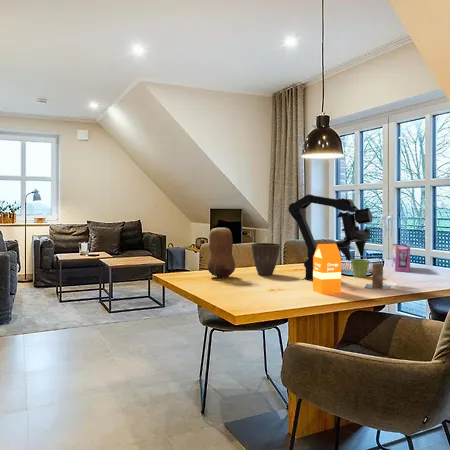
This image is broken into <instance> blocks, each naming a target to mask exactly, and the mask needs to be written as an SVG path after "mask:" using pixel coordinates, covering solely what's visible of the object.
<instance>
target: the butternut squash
mask: <svg viewBox="0 0 450 450" xmlns="http://www.w3.org/2000/svg"><path fill="white" fill-rule="evenodd" d="M208 242H209V243H208V248H209V251H210V252H209V255H208V256H209V257H208V260H207V270H208V272H209V273H210V274H211V275H212V276H213V277H214V276H215V277H216V276H217V277H216V278H219V277H222V278H221V279H224V277H227V278H228V277H230V276H231V275H232V274H233V273H234V272H235V270H236V262H235V259H234V256H233V246H234V245H233V244H234V241H233V234H232V231H231V230H230V228H228V227H215V228H212V229H211V230H210V231H209V237H208Z"/></svg>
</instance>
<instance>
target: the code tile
mask: <svg viewBox="0 0 450 450" xmlns="http://www.w3.org/2000/svg"><path fill="white" fill-rule="evenodd" d="M383 285H390V287H397V282H385V281H383Z"/></svg>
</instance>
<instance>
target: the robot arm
mask: <svg viewBox="0 0 450 450" xmlns="http://www.w3.org/2000/svg"><path fill="white" fill-rule="evenodd" d="M312 204H316V205H322V206H328V207H332V208H334V209H337V210H339V211H340V212H339V213H338V215H337V216H336V218H338V219H339V218H341V221H342V226H343V228H342V229H341V231H342V232H344V237H343V239H340V240H336V241H334V244H337V247H338V250H339V252H341V253H342V254H343V256H344V257H345V258H346V260H347V261H348V262H351V261H350V260H352V259H351V251H350V250H351V247H352V245H351V243H354V244H355V245H356V248H357V250H358V254H359V255H360V256H361V257H363V256H364V251H365V247H366V244H367V242H368V241H369V240H371V237H370V236H372V235H371V229H370V228H367V227H366V228H364V229H360V227H359V226H358V225H363V224H364V225H365V224H369V223H370V224H371V223H372V222H373V214H372V212H371V210H370V207H365V208H362V209H361V208H360V209H359V208H358V207H357V206H356V205H355V202H354V201H353V200H352V199H350V198H331V197H325V196H318V195H314V194H310V193H308V194H306V195H304V196H303V197H300V198H299V199H298V200H296V201H295V202H292V203H290V204H289V206H288V212H289V214H290V215H291V218H293V219H294V221H296V224H297V226H298V229H299V231H300V234H301V237H302V238H303V241H304V243H305V245H306V249H307V252H306V253H307V259H306V260H305V262H303V266H304V268H305V277H303V280H308V281H312V282H313V256H314V254H315V251H316V248H317V246H318V244H317V243H316V241H315V238H314V236H313V234H312V231H311V229H310V226H309V224H308V221H307V219H306V209H307V208H308V207H309V206H310V205H312ZM357 223H358V225H357Z"/></svg>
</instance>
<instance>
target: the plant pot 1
mask: <svg viewBox="0 0 450 450" xmlns="http://www.w3.org/2000/svg"><path fill="white" fill-rule="evenodd" d="M280 248H281V244H280V243H274V242H273V243H272V242H271V243H269V242H267V243H266V242H256V243H255V242H253V243H251V250H252V251H251V253H252V258H253V262H254V266H255V269H256V272H257V275H258V276H267V277H268V276H273V273H274V272H275V270H276V269H275V268H276V266H277V262H278V259H279V254H280Z"/></svg>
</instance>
